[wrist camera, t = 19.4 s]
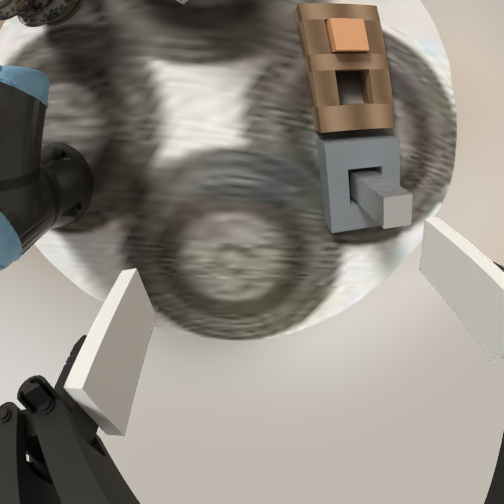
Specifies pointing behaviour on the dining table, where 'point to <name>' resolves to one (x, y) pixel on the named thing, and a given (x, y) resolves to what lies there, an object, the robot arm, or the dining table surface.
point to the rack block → (337, 182)
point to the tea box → (182, 1)
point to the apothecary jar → (39, 11)
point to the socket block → (345, 69)
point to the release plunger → (346, 35)
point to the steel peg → (380, 197)
